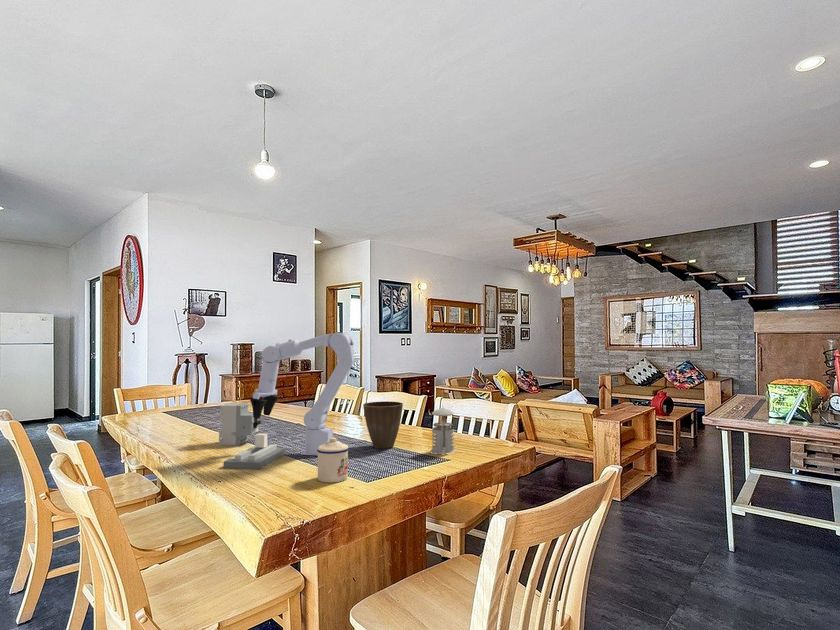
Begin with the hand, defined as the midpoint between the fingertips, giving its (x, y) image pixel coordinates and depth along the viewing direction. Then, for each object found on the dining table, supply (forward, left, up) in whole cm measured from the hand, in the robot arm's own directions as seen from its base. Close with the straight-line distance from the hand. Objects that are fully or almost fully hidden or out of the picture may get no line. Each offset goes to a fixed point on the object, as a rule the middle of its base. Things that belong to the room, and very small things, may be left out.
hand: (261, 416), depth 167 cm
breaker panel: (-4, +10, -13) cm, 17 cm away
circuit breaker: (+15, -14, -13) cm, 24 cm away
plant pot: (-41, -15, -13) cm, 46 cm away
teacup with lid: (-36, +25, -13) cm, 45 cm away
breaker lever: (-4, +7, -11) cm, 13 cm away
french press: (-65, -9, -13) cm, 66 cm away
